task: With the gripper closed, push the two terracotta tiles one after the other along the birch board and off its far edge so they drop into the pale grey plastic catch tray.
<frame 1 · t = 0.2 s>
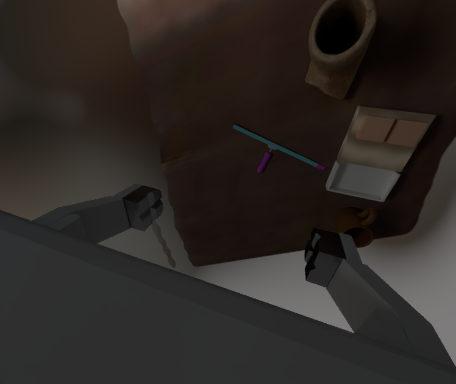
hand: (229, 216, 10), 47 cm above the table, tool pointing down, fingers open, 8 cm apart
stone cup: (331, 56, 41), on the table
tile 1: (372, 127, 43), point 2 cm above the table, touching board
board: (377, 138, 45), on the table
squeegee: (271, 158, 57), on the table
tray: (357, 178, 51), on the table
mug: (353, 211, 56), on the table
tile 2: (402, 131, 41), point 2 cm above the table, touching board
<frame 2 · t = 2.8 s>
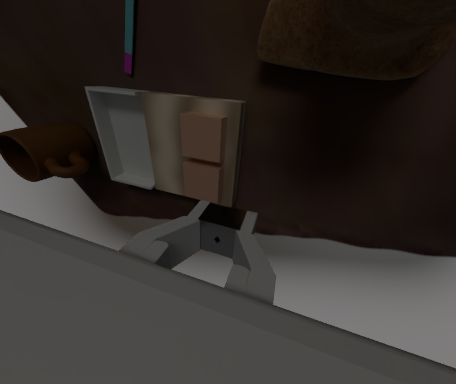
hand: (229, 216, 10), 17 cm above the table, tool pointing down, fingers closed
tile 1: (207, 135, 23), point 2 cm above the table, touching board
board: (197, 149, 27), on the table
tray: (135, 138, 30), on the table
mug: (91, 146, 34), on the table
tile 2: (206, 177, 26), point 2 cm above the table, touching board
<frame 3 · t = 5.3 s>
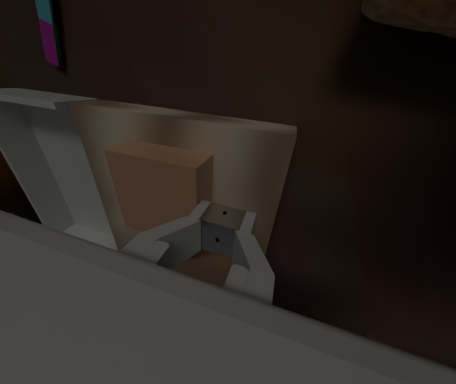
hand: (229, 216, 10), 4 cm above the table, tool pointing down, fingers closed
tile 1: (174, 186, 11), point 2 cm above the table, touching board, gripper
board: (191, 203, 15), on the table
tray: (86, 176, 18), on the table
mug: (26, 180, 22), on the table
tile 2: (206, 261, 14), point 2 cm above the table, touching board
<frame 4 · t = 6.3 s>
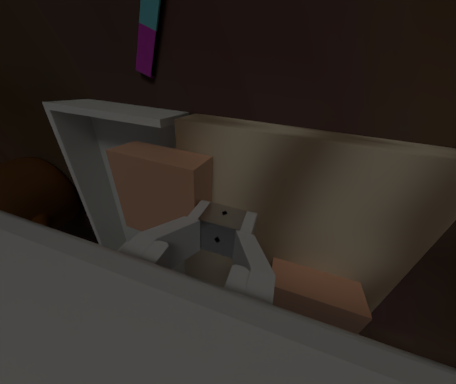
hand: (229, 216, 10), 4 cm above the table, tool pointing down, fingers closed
tile 1: (175, 187, 12), point 2 cm above the table
board: (278, 226, 14), on the table
tray: (150, 193, 16), on the table
mug: (73, 194, 20), on the table
tile 2: (303, 292, 13), point 2 cm above the table, touching board
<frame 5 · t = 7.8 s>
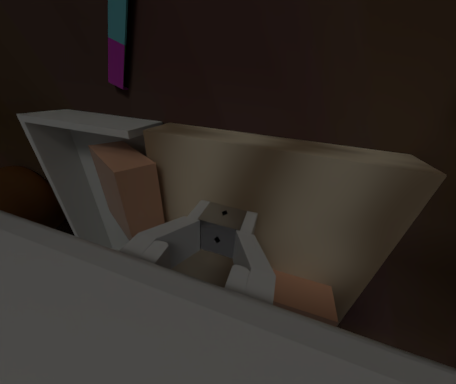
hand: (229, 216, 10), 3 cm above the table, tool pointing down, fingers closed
tile 1: (144, 186, 12), point 2 cm above the table, tilted 29°, touching board, tray
board: (255, 231, 14), on the table
tray: (131, 200, 16), on the table
mug: (58, 202, 20), on the table
tile 2: (279, 296, 13), point 2 cm above the table, touching board
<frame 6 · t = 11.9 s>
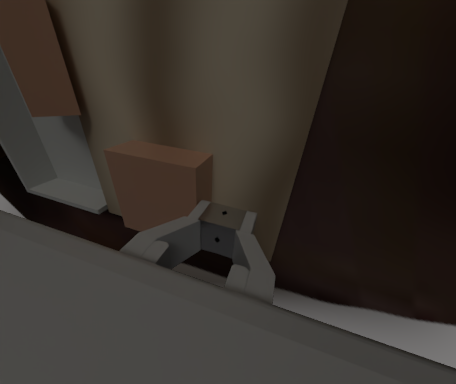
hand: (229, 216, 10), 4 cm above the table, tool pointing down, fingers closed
tile 1: (57, 61, 11), point 2 cm above the table, tilted 29°, touching board, tray
board: (195, 128, 12), on the table
tray: (66, 108, 14), on the table
mug: (1, 128, 19), on the table
tile 2: (174, 186, 12), point 3 cm above the table
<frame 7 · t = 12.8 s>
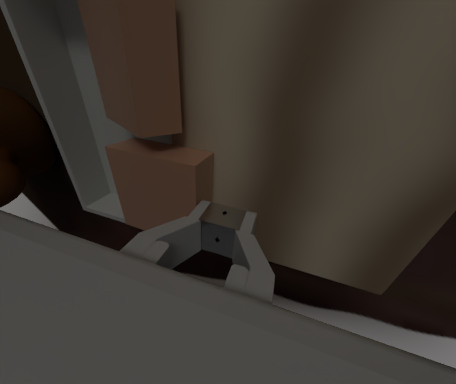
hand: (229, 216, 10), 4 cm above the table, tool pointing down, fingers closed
tile 1: (152, 70, 9), point 2 cm above the table, tilted 29°, touching board, tray
board: (296, 145, 11), on the table
tray: (135, 120, 13), on the table
mug: (48, 139, 17), on the table
tile 2: (175, 184, 11), point 2 cm above the table, touching board, gripper
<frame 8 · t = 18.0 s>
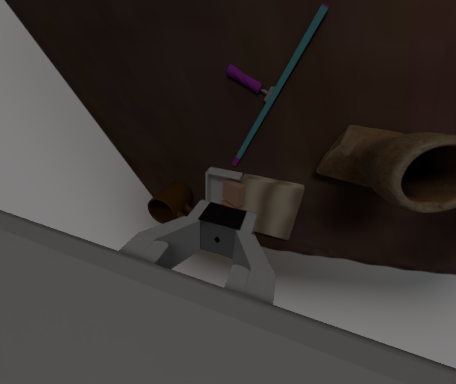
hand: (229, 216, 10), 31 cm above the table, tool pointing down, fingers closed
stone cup: (370, 150, 33), on the table
tile 1: (236, 190, 44), point 2 cm above the table, tilted 29°, touching board, tray
board: (267, 204, 45), on the table
squeegee: (249, 91, 35), on the table
tray: (224, 195, 47), on the table
mug: (188, 195, 51), on the table
tile 2: (233, 210, 47), point 2 cm above the table, tilted 28°, touching board, tray
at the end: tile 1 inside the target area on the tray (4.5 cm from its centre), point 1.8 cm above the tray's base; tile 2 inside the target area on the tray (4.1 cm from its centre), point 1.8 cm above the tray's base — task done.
